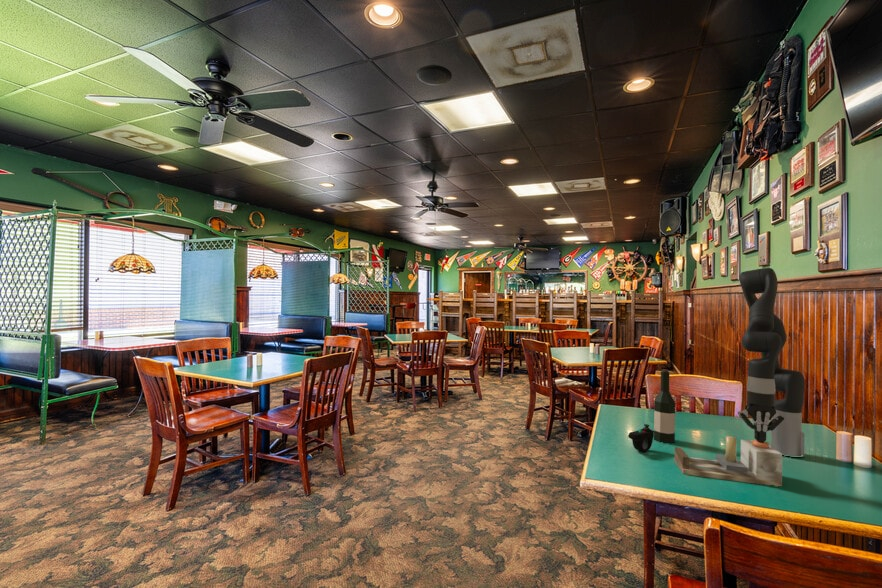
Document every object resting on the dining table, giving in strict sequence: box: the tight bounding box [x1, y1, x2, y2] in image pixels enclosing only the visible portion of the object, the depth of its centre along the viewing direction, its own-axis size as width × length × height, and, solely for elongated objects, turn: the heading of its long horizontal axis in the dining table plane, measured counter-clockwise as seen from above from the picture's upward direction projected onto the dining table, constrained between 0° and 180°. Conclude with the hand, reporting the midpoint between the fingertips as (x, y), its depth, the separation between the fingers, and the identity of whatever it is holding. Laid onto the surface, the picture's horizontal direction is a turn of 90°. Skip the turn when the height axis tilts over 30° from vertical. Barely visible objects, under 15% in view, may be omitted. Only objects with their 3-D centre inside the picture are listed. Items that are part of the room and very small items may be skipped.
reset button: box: [752, 439, 770, 449], centre depth 136 cm, size 4×4×1 cm
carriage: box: [714, 435, 748, 473], centre depth 138 cm, size 6×10×10 cm, turn 163°
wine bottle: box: [653, 368, 676, 444], centre depth 171 cm, size 8×8×30 cm
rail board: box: [673, 439, 783, 487], centre depth 139 cm, size 28×12×10 cm, turn 73°
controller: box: [627, 423, 654, 453], centre depth 157 cm, size 4×12×10 cm, turn 120°
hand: (760, 441), depth 136 cm, fingers closed
